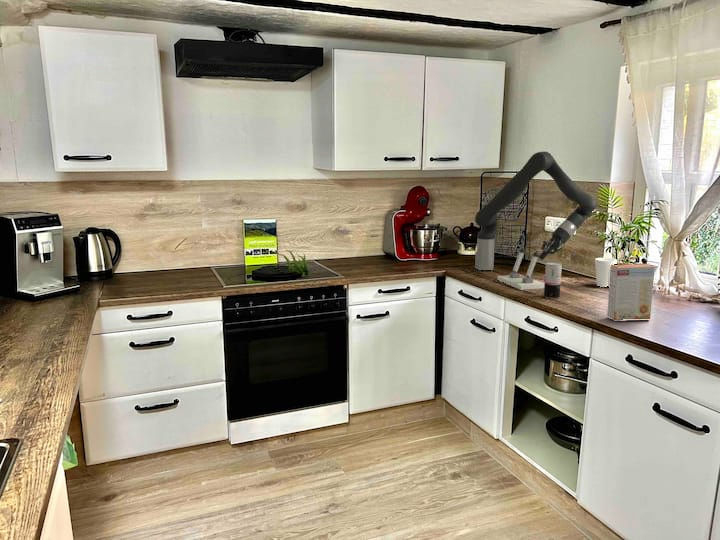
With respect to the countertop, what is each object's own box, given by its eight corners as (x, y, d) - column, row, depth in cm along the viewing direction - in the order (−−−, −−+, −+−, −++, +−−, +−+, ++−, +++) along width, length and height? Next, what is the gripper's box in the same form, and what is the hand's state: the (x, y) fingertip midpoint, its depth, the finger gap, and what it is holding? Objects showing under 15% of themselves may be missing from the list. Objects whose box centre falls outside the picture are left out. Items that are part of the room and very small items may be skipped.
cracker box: (641, 316, 208) (646, 263, 204) (650, 321, 203) (656, 266, 198) (605, 317, 208) (610, 264, 204) (613, 322, 202) (618, 267, 198)
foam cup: (592, 287, 256) (594, 260, 254) (594, 283, 264) (596, 257, 262) (614, 289, 252) (616, 261, 249) (615, 285, 260) (617, 258, 258)
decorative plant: (301, 267, 312) (300, 242, 309) (309, 278, 283) (308, 250, 281) (269, 269, 307) (268, 243, 304) (274, 280, 279) (273, 252, 276)
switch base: (520, 278, 277) (520, 270, 276) (545, 288, 256) (545, 279, 255) (497, 280, 274) (497, 272, 273) (520, 289, 253) (521, 281, 252)
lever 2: (528, 277, 260) (537, 252, 259) (531, 279, 257) (541, 253, 256) (523, 276, 259) (533, 250, 258) (526, 277, 257) (536, 251, 255)
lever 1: (515, 273, 271) (524, 248, 270) (518, 274, 269) (527, 249, 267) (510, 271, 271) (519, 247, 269) (513, 272, 268) (522, 247, 267)
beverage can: (540, 296, 240) (542, 263, 237) (549, 294, 244) (551, 261, 241) (553, 299, 235) (555, 265, 232) (562, 297, 239) (564, 263, 236)
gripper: (551, 225, 264) (527, 251, 263) (568, 228, 251) (543, 255, 251) (560, 235, 266) (537, 261, 266) (577, 239, 254) (553, 266, 253)
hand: (540, 258), depth 258 cm, fingers closed
